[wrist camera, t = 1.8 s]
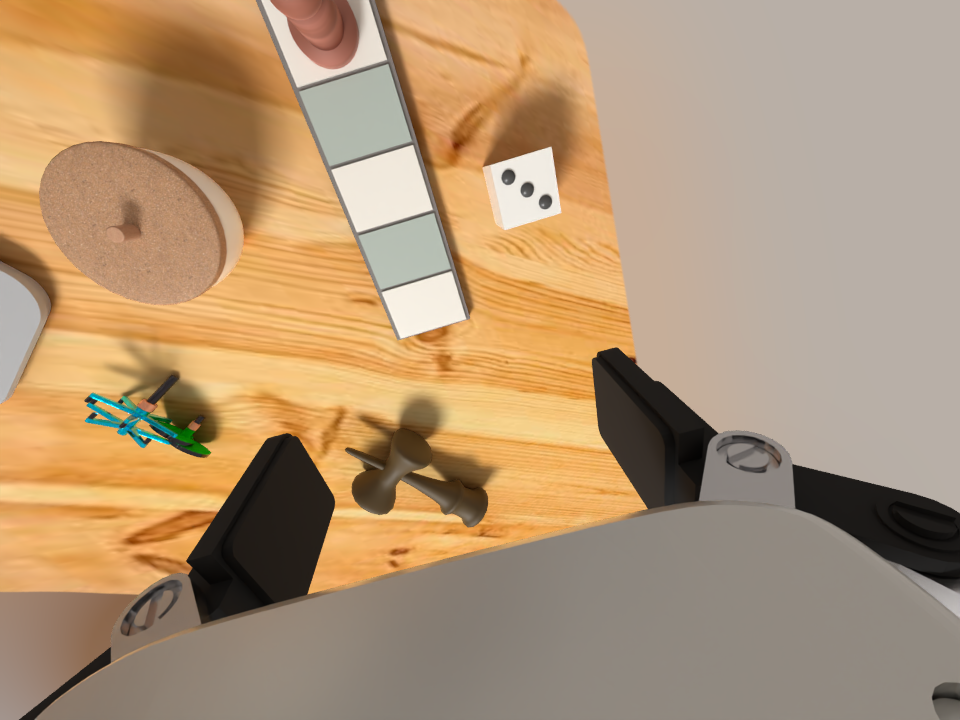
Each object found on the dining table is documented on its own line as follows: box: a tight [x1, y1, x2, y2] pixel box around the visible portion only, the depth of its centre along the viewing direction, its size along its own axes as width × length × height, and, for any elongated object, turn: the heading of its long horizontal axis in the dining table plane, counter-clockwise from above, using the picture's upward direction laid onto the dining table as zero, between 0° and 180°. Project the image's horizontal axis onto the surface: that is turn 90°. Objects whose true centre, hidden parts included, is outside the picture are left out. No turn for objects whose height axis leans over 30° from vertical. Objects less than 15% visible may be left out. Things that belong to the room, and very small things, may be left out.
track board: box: [256, 0, 470, 340], centre depth 32 cm, size 28×8×1 cm, turn 15°
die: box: [483, 147, 561, 230], centre depth 31 cm, size 5×5×5 cm
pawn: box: [270, 0, 359, 69], centre depth 22 cm, size 5×5×9 cm
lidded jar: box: [39, 141, 244, 305], centre depth 27 cm, size 11×11×9 cm
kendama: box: [345, 429, 488, 527], centre depth 45 cm, size 6×10×20 cm
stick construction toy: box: [84, 375, 211, 458], centre depth 38 cm, size 12×7×8 cm
